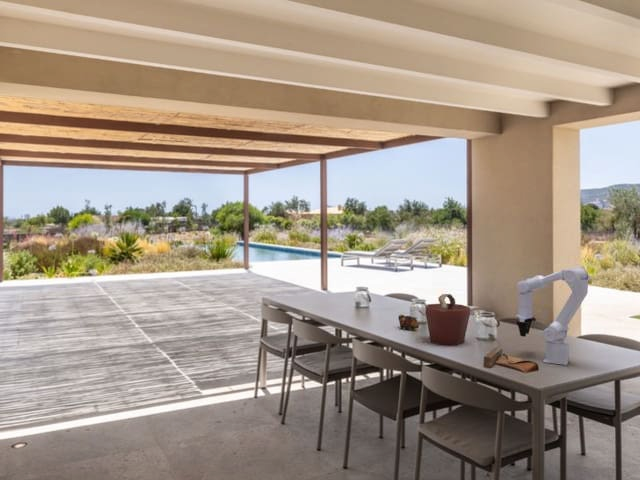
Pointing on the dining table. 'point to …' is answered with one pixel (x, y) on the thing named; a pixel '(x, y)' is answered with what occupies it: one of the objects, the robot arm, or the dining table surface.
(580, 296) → the robot arm
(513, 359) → the sunglasses case
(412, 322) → the decorative turtle
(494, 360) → the stop bar
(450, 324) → the bucket
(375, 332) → the dining table surface
